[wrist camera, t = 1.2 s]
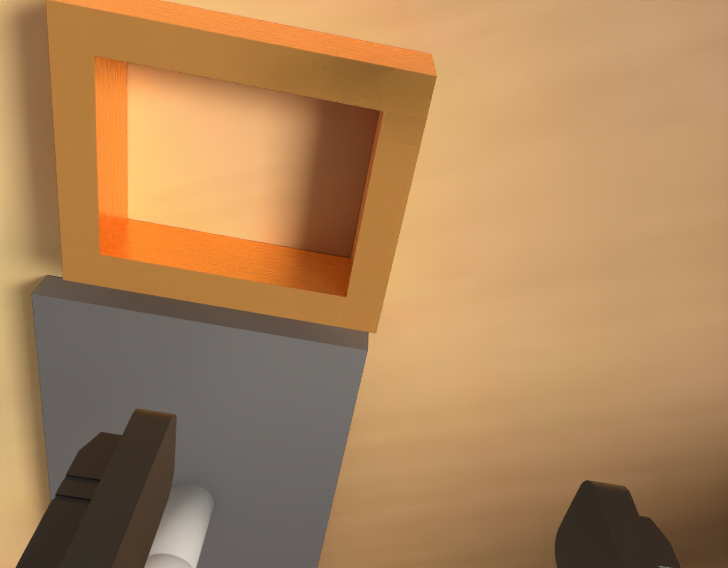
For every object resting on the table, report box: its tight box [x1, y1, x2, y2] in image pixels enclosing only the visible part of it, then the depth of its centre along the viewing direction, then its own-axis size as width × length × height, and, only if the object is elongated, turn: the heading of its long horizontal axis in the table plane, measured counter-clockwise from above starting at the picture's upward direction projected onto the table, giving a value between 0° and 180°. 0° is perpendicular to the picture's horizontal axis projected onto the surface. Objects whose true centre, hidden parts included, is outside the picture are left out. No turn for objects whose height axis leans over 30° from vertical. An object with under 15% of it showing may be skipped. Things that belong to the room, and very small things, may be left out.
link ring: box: [46, 0, 437, 333], centre depth 24 cm, size 12×10×3 cm
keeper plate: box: [32, 275, 369, 568], centre depth 31 cm, size 14×18×7 cm
